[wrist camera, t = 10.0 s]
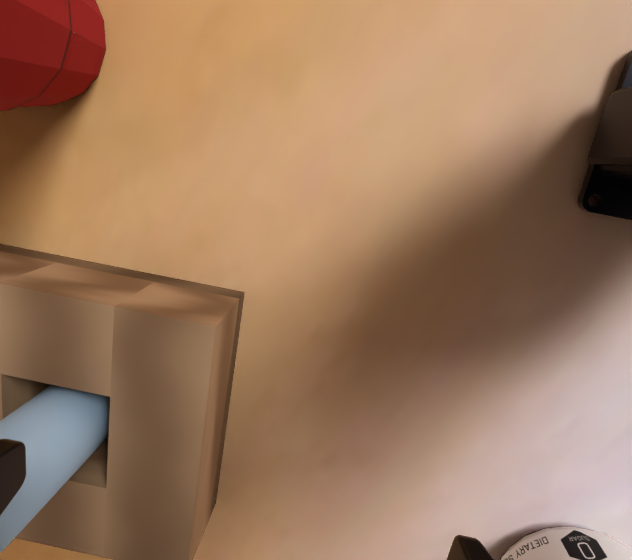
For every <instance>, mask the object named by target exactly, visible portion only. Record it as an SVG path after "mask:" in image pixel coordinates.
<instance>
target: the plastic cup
mask: <svg viewBox="0 0 632 560" xmlns="http://www.w3.org/2000/svg"><path fill="white" fill-rule="evenodd" d="M105 51H106V44H105V30H104V20H103V17H102V15H101V13H100V10H99V8H98V5H97V3H96V1H95V0H0V111H6V110H11V109H13V108H16V107H27V106H47V105H55V104H58V103H60V102H64V101H66V100H69V99H71V98H73V97H75V96H78V95H80V94H82V93H84V92H85V90H86V89H87V88H88V87H89V86H90V84H91V83H92V82H93V81H94V80H95V78H96V77H97V76H98V75H99V71H100V68H101V64H102V61H103V58H104V54H105Z"/></svg>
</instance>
